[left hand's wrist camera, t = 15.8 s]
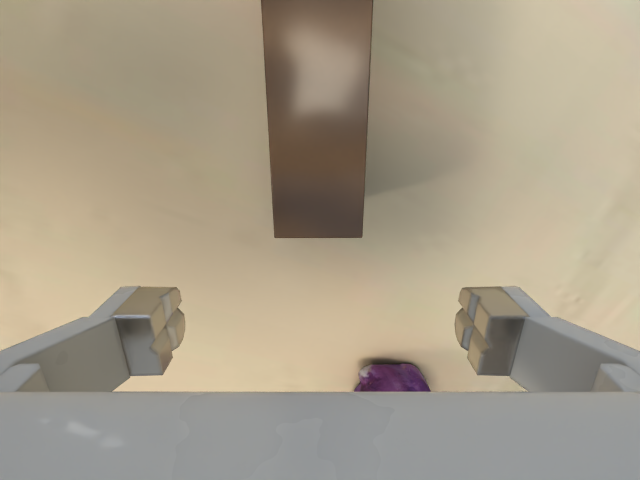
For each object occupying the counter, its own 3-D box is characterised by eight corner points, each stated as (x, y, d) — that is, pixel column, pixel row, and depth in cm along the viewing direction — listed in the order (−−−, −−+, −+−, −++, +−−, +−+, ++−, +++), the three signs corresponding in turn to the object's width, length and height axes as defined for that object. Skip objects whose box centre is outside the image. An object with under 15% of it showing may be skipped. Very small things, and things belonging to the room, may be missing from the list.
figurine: (435, 421, 41) (493, 584, 28) (349, 418, 41) (364, 581, 27) (449, 358, 38) (525, 508, 24) (356, 354, 38) (377, 503, 24)
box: (351, 202, 31) (362, 238, 23) (286, 202, 31) (274, 238, 23) (364, -211, 22) (391, -397, 13) (269, -210, 22) (238, -397, 13)
